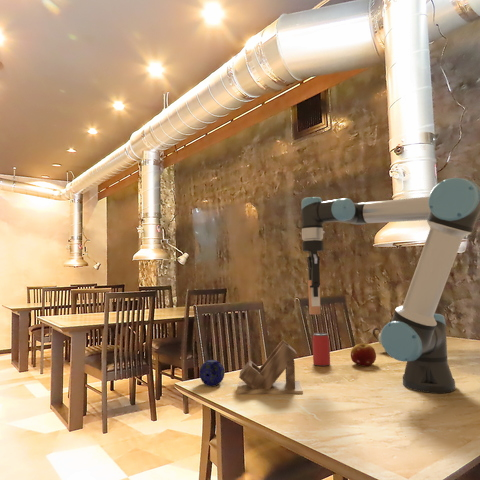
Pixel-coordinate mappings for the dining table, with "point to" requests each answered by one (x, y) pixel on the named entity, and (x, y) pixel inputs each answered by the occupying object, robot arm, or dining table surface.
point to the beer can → (321, 349)
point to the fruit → (363, 354)
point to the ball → (211, 372)
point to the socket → (271, 374)
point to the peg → (312, 309)
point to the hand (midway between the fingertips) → (314, 305)
